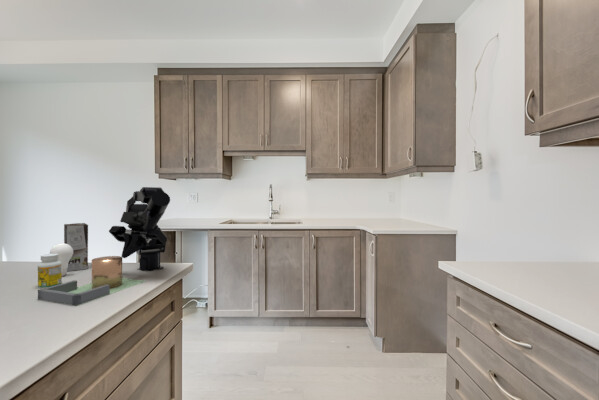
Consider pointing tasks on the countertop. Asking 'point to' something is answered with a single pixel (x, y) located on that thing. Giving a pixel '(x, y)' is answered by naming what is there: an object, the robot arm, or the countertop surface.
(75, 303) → the shallow gray tray
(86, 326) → the countertop surface
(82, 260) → the coffee box
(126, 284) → the green
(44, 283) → the supplement bottle
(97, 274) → the copper metal cylinder
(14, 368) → the countertop surface
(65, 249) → the lightbulb
